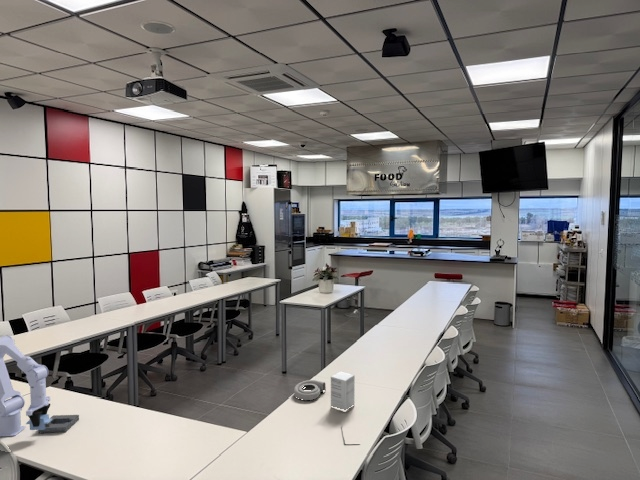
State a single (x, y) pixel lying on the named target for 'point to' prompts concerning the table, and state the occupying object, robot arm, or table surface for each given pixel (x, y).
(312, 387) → the turbocharger housing
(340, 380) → the supplement box
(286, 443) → the table surface
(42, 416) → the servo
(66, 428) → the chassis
